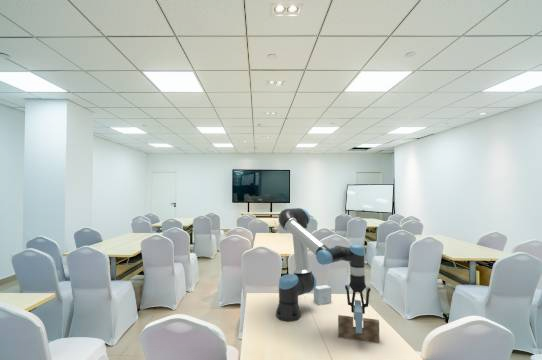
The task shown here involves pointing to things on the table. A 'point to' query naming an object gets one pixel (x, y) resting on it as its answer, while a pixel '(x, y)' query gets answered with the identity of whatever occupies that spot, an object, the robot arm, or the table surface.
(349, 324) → the slotted beam
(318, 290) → the skincare box
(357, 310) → the long blue bar
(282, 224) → the robot arm
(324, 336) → the table surface
